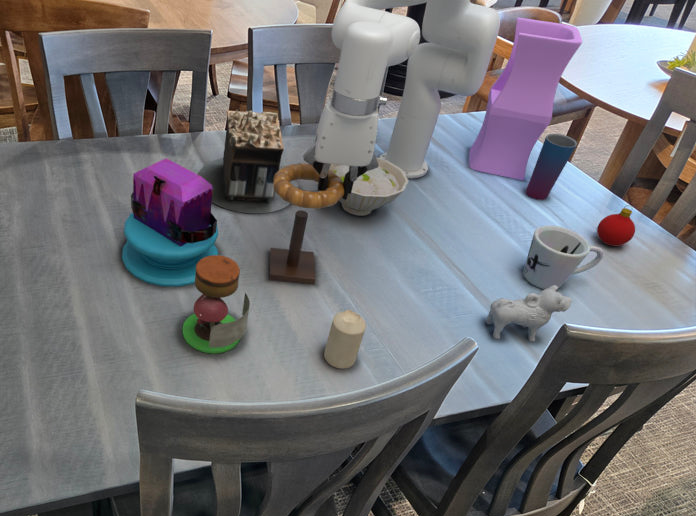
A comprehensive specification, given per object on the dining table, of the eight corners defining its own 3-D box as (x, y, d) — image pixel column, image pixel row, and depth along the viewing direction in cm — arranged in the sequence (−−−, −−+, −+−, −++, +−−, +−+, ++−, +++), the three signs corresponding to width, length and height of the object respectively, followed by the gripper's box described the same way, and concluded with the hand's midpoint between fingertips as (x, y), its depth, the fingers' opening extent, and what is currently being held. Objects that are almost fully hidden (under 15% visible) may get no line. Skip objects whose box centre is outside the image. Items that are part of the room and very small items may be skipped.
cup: (553, 203, 155) (580, 148, 145) (524, 199, 155) (549, 144, 146) (547, 189, 160) (573, 135, 150) (519, 185, 160) (543, 131, 151)
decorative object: (170, 300, 120) (173, 215, 107) (101, 254, 130) (97, 170, 117) (237, 256, 132) (247, 174, 119) (169, 217, 141) (172, 137, 129)
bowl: (300, 205, 148) (307, 168, 141) (344, 177, 159) (352, 141, 153) (371, 241, 138) (382, 202, 132) (413, 208, 150) (425, 171, 143)
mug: (508, 261, 135) (526, 223, 129) (577, 265, 135) (598, 227, 129) (526, 293, 127) (546, 254, 121) (599, 297, 127) (623, 259, 121)
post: (269, 253, 133) (278, 198, 124) (312, 257, 133) (324, 203, 124) (269, 280, 126) (278, 224, 118) (314, 284, 126) (326, 229, 117)
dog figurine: (556, 343, 117) (582, 300, 110) (488, 339, 116) (510, 296, 109) (544, 323, 121) (569, 280, 114) (478, 319, 120) (499, 276, 113)
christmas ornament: (588, 243, 142) (609, 206, 136) (594, 229, 147) (615, 193, 140) (622, 256, 139) (645, 218, 133) (628, 241, 143) (650, 204, 137)
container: (469, 146, 176) (516, 16, 153) (521, 156, 173) (577, 26, 150) (468, 169, 166) (519, 34, 143) (524, 180, 163) (584, 44, 140)
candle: (320, 346, 113) (331, 305, 106) (350, 345, 113) (362, 304, 107) (327, 369, 108) (339, 328, 102) (358, 368, 109) (372, 327, 102)
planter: (319, 195, 152) (334, 123, 140) (237, 225, 140) (245, 149, 128) (255, 151, 167) (263, 82, 155) (176, 174, 156) (179, 103, 144)
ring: (272, 171, 123) (274, 157, 121) (339, 178, 122) (342, 164, 120) (271, 207, 113) (274, 193, 111) (344, 215, 112) (348, 200, 110)
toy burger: (166, 346, 111) (168, 281, 101) (195, 303, 120) (199, 240, 110) (228, 369, 107) (237, 303, 98) (253, 323, 116) (263, 259, 107)
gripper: (400, 96, 108) (375, 188, 120) (304, 87, 109) (288, 180, 121) (407, 115, 102) (380, 210, 114) (305, 106, 103) (289, 201, 115)
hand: (333, 193), depth 117 cm, fingers closed on ring, 3 cm apart
